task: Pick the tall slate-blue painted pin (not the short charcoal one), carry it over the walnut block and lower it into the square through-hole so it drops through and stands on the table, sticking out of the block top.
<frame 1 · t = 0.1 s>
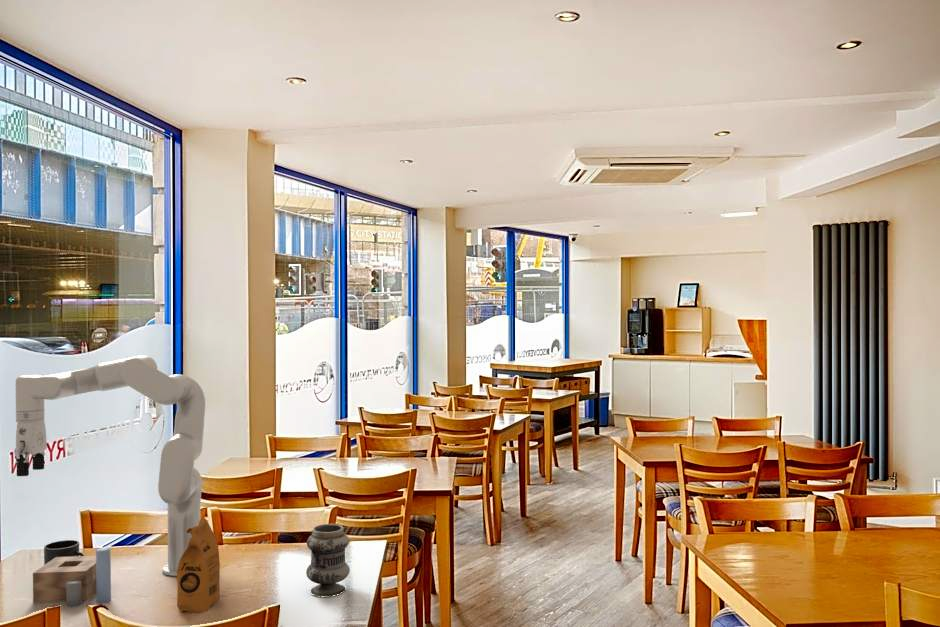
hand: (30, 472, 232), 31 cm above the table, fingers open, 9 cm apart
hole block: (70, 592, 218), on the table
apothecary jar: (328, 592, 216), on the table
tall pin: (103, 600, 211), on the table
short pin: (74, 604, 208), on the table
coffee package: (198, 605, 207), on the table
mug: (66, 575, 233), on the table
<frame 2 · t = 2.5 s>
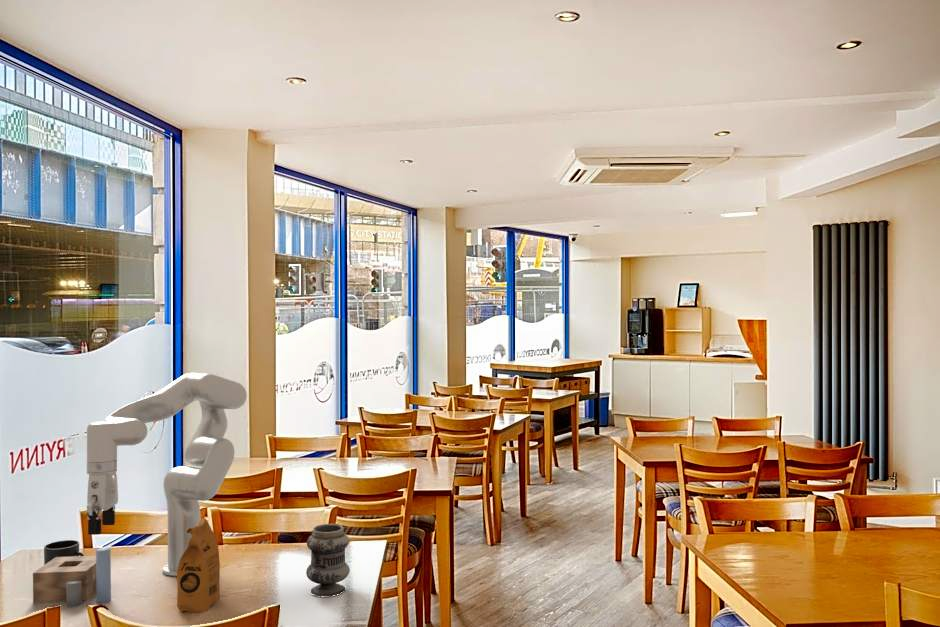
hand: (101, 529, 211), 20 cm above the table, fingers open, 9 cm apart
nothing on the table moved.
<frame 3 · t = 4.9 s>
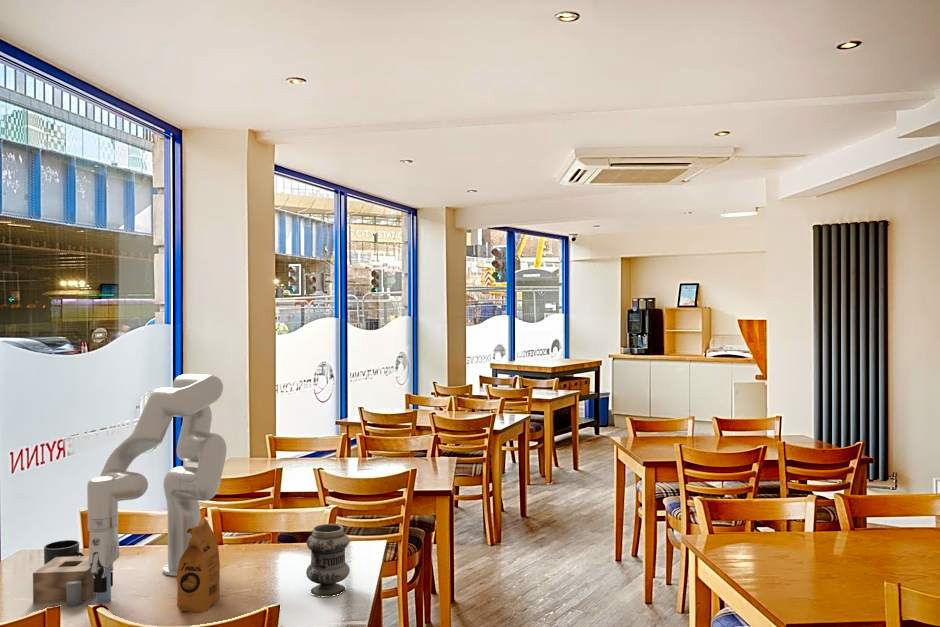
hand: (103, 588, 211), 3 cm above the table, fingers closed on tall pin, 3 cm apart
tall pin: (103, 600, 211), on the table, touching gripper
everything else where it was.
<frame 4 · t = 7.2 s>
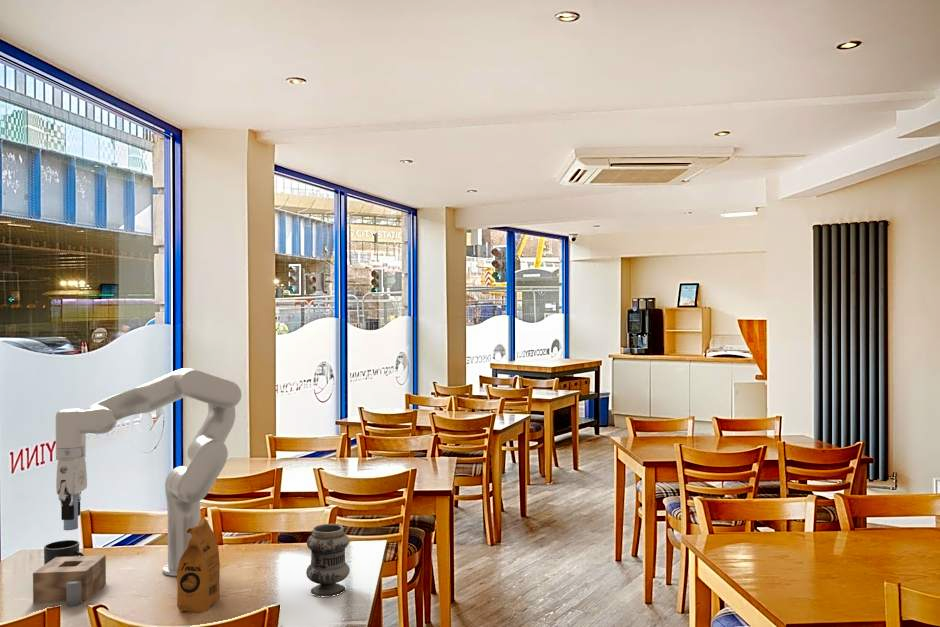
hand: (70, 517, 218), 21 cm above the table, fingers closed on tall pin, 3 cm apart
tall pin: (70, 528, 218), point 18 cm above the table, touching gripper
everything else where it was.
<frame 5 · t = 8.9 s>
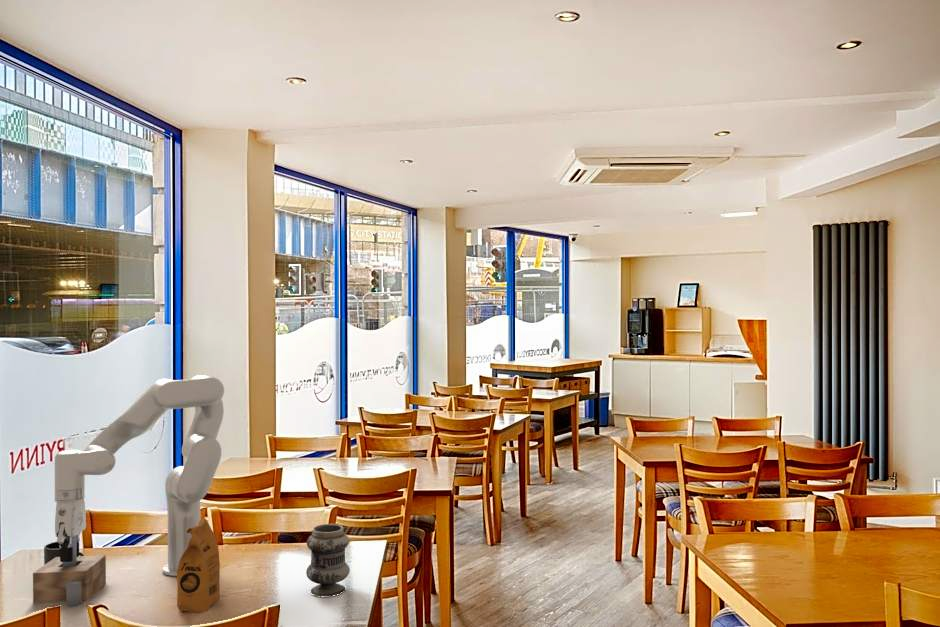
hand: (69, 558, 218), 10 cm above the table, fingers closed on tall pin, 3 cm apart
tall pin: (69, 570, 218), point 6 cm above the table, touching gripper
everything else where it was.
when the fingers open (9 cm above the table, at t = 9.7 s): tall pin drops 6 cm, resting in hole block.
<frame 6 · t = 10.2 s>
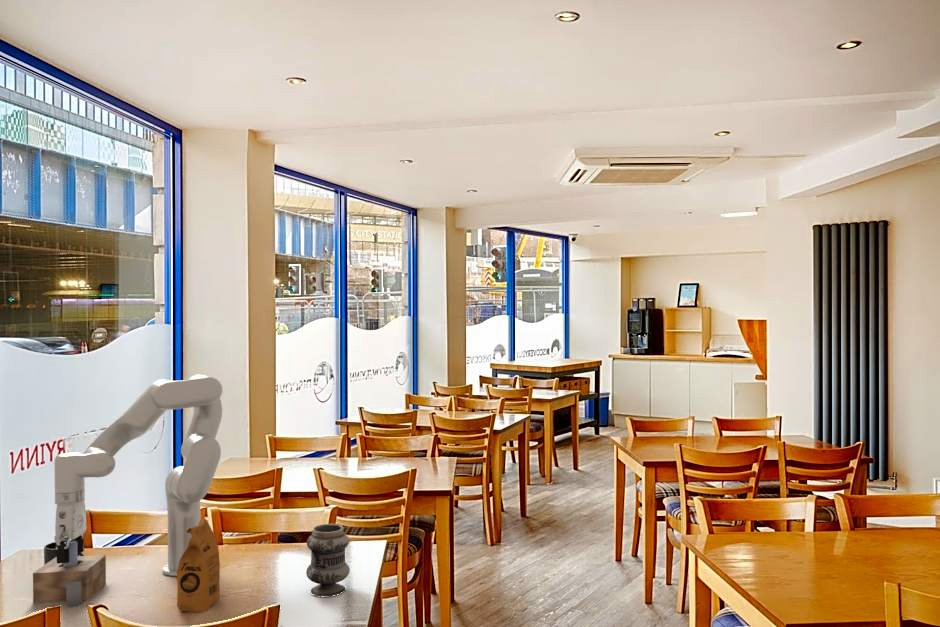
hand: (70, 557, 218), 10 cm above the table, fingers open, 9 cm apart
tall pin: (70, 592, 218), resting in hole block
everything else where it was.
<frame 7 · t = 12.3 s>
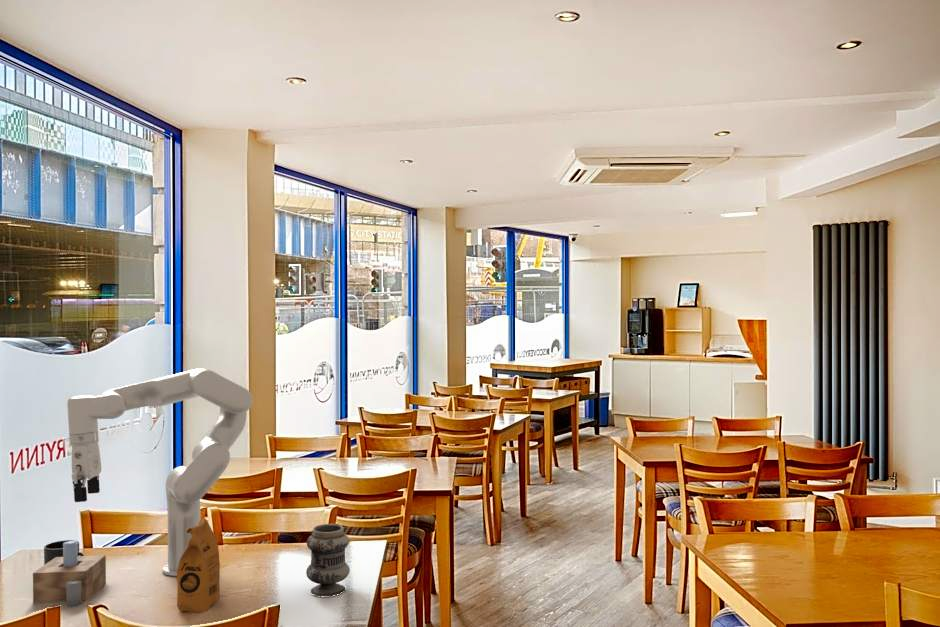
hand: (87, 497, 223), 26 cm above the table, fingers open, 9 cm apart
nothing on the table moved.
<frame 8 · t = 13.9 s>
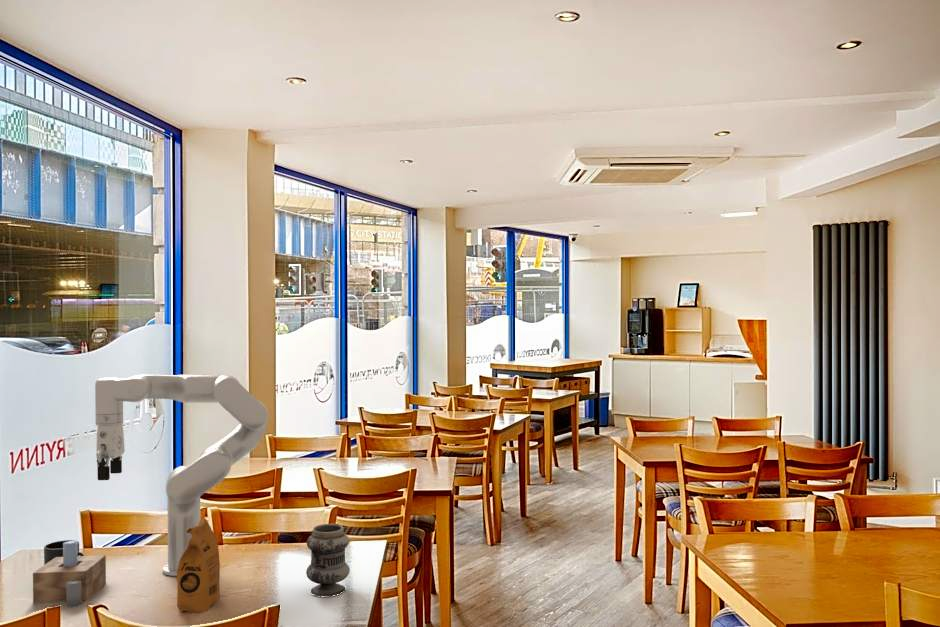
hand: (110, 476, 230), 30 cm above the table, fingers open, 9 cm apart
nothing on the table moved.
at the end: tall pin 0.0 cm off-centre on the hole block, point 0.0 cm above the hole block's base; tall pin tilted 0°; short pin moved 0.0 cm from its start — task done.
